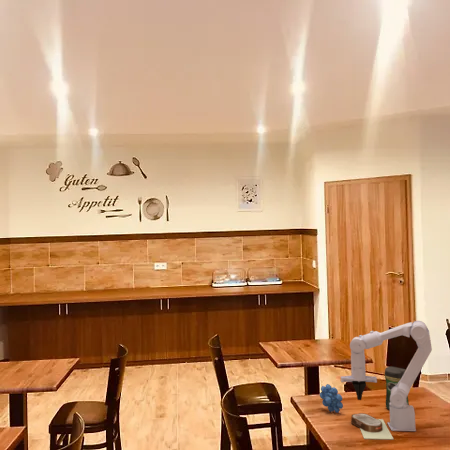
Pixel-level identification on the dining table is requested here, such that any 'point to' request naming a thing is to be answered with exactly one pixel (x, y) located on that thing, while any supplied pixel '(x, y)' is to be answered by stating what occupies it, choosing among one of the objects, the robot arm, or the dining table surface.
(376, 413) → the dining table surface
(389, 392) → the coffee jar
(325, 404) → the grapes
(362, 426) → the tin
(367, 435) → the mat
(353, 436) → the dining table surface
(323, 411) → the dining table surface
